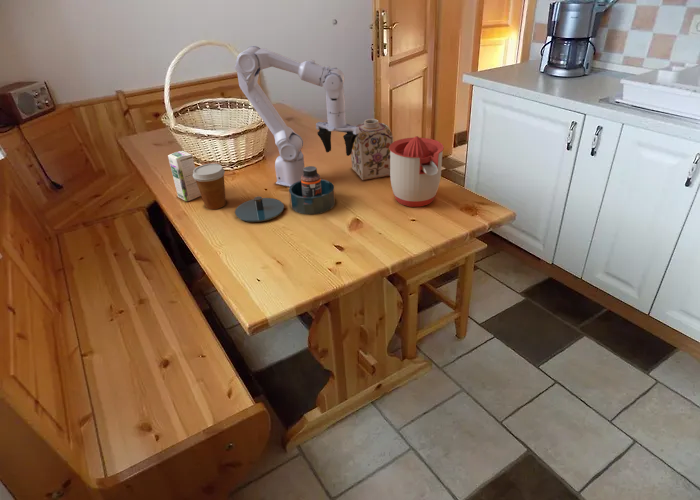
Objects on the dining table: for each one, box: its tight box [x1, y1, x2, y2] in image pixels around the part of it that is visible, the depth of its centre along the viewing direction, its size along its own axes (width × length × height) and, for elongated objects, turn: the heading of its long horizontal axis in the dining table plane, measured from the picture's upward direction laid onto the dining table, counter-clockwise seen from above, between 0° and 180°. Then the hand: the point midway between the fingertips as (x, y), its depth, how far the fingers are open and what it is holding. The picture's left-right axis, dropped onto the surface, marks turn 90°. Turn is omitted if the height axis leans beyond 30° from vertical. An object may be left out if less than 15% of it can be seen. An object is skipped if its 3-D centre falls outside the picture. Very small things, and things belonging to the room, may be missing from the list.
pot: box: [288, 178, 336, 215], centre depth 145 cm, size 14×19×5 cm
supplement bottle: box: [301, 165, 322, 197], centre depth 143 cm, size 6×6×11 cm
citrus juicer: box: [389, 135, 445, 208], centre depth 140 cm, size 16×17×20 cm
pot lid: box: [234, 195, 285, 223], centre depth 142 cm, size 15×15×5 cm
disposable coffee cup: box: [192, 163, 227, 210], centre depth 145 cm, size 10×10×12 cm
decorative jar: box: [350, 118, 394, 181], centre depth 160 cm, size 12×12×18 cm
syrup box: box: [167, 150, 202, 202], centre depth 150 cm, size 6×6×14 cm
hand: (338, 153), depth 153 cm, fingers open, 7 cm apart
